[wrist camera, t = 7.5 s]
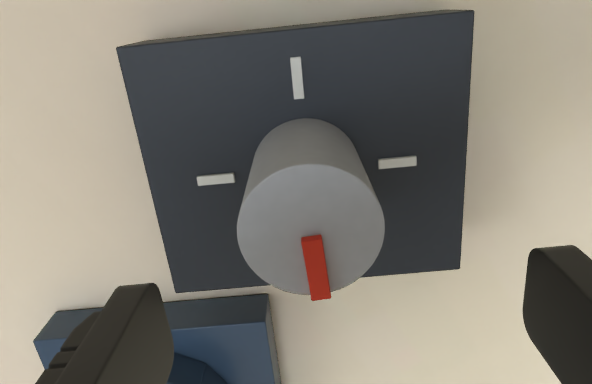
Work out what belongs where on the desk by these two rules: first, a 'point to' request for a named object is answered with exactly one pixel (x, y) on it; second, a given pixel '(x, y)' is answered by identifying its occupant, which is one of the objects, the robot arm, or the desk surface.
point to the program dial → (309, 211)
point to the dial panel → (296, 105)
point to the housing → (199, 340)
